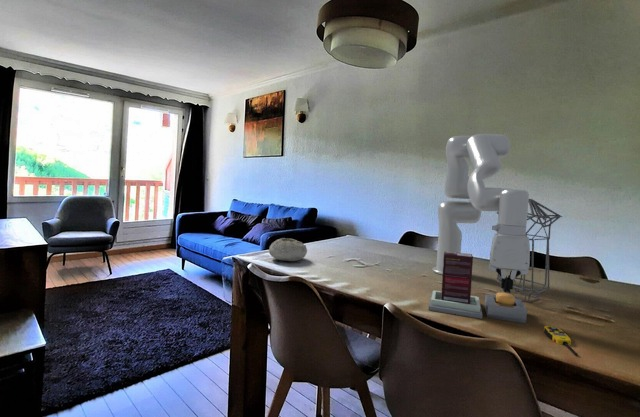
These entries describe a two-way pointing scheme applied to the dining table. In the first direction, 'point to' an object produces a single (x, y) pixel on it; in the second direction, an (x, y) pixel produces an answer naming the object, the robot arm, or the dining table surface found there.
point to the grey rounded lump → (287, 250)
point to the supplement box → (457, 277)
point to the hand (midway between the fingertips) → (506, 290)
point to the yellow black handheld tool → (558, 337)
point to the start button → (505, 298)
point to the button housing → (505, 310)
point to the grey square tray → (455, 306)
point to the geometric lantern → (557, 216)
